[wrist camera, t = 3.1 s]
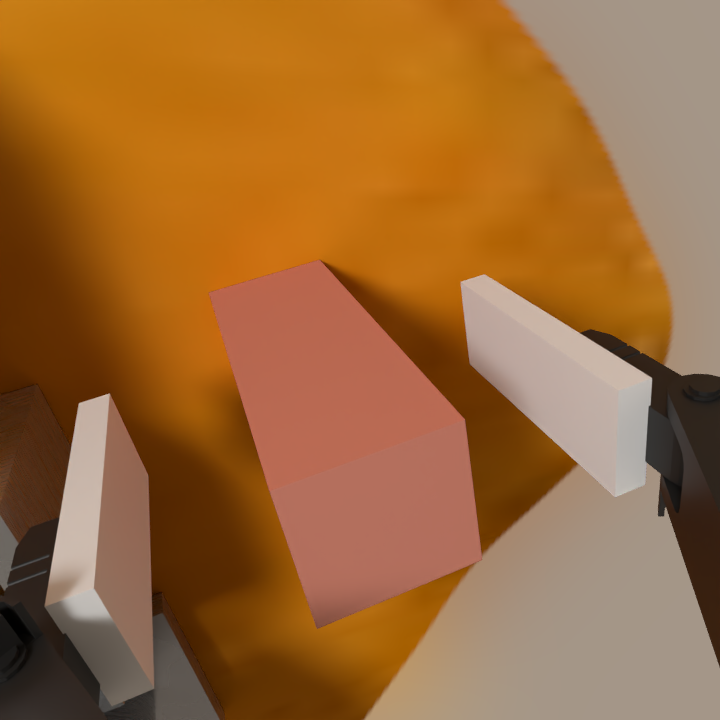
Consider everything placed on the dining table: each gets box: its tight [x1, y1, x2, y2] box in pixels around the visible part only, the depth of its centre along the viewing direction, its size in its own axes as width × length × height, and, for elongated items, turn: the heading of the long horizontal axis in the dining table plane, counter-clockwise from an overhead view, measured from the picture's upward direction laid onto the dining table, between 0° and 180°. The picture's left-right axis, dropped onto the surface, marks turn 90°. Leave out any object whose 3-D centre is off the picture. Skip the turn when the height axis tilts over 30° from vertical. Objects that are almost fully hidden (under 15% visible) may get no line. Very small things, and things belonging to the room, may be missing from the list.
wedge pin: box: [209, 260, 482, 629], centre depth 15 cm, size 4×4×10 cm
